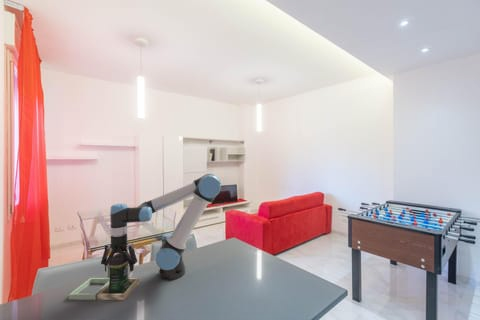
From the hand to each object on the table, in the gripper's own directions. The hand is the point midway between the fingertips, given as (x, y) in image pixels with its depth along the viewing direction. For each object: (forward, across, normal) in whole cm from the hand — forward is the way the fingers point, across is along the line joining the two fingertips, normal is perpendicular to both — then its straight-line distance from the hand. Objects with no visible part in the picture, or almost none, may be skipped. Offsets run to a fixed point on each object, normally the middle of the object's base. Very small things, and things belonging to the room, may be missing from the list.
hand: (119, 277), depth 115 cm
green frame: (+7, +14, 0) cm, 16 cm away
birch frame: (+7, 0, 0) cm, 7 cm away
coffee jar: (+7, 0, 0) cm, 7 cm away
